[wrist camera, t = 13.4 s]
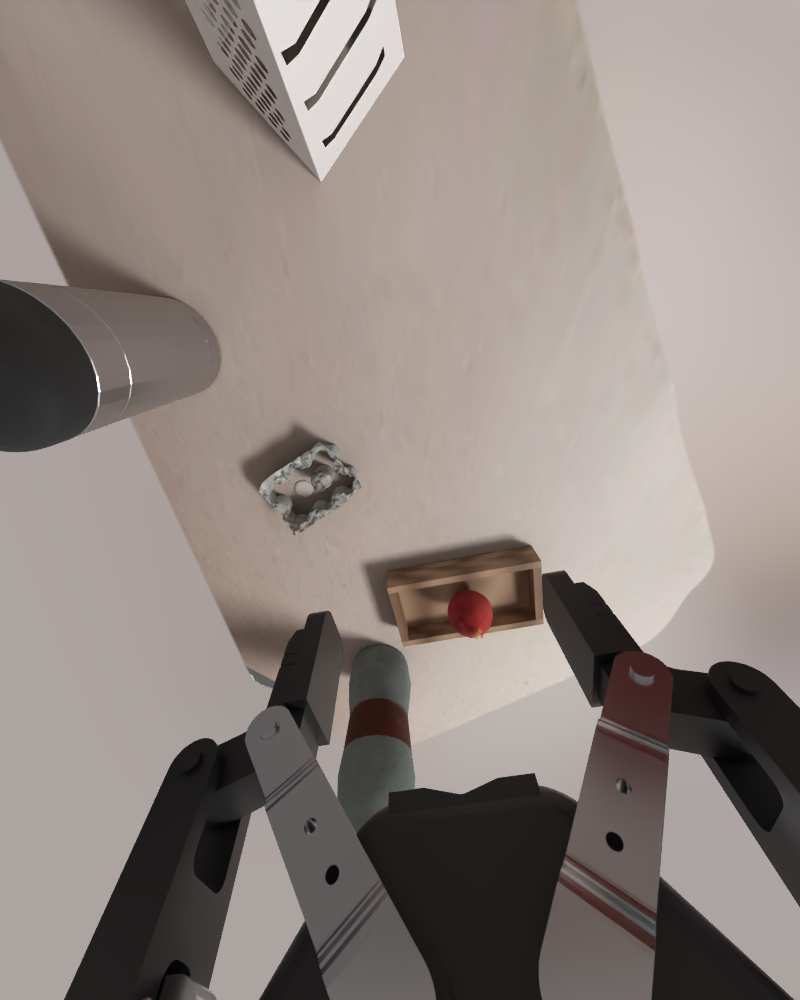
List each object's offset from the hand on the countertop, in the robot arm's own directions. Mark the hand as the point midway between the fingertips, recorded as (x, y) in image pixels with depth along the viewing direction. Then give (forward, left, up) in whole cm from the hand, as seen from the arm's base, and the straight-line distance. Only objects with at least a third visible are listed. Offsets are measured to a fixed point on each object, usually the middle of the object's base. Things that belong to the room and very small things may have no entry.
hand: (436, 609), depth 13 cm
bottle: (-12, -38, -30) cm, 50 cm away
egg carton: (-13, -5, -31) cm, 34 cm away
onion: (+3, -26, -29) cm, 39 cm away
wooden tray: (+3, -26, -30) cm, 40 cm away
